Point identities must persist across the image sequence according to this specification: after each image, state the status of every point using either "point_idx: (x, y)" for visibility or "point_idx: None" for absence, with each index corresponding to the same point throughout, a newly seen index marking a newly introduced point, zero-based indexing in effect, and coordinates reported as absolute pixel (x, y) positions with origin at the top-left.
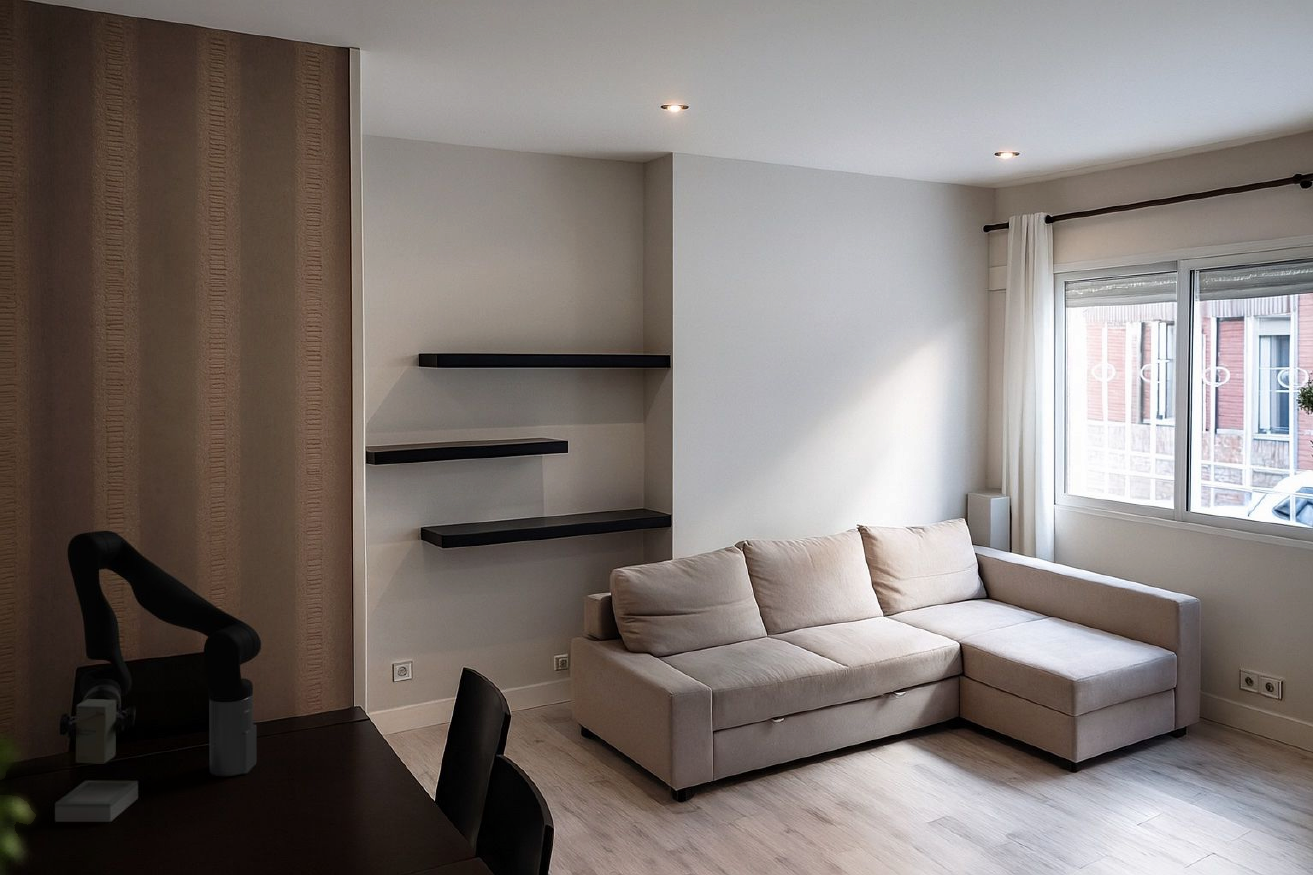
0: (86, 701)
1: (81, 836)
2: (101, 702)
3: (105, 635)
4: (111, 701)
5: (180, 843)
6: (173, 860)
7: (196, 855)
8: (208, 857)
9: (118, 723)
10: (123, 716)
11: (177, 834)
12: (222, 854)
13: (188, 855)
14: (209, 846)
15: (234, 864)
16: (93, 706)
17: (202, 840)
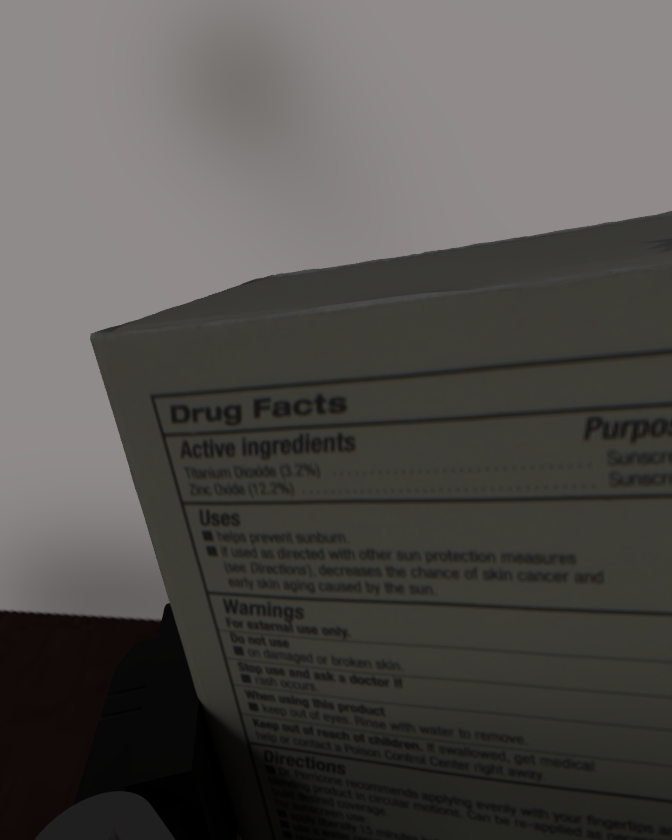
0: (668, 233)
1: None
2: (341, 279)
3: None
4: (181, 309)
5: (85, 716)
6: (129, 636)
7: (67, 652)
8: (43, 642)
9: (171, 609)
10: (40, 837)
11: (75, 778)
12: (4, 651)
13: (86, 654)
14: (14, 690)
15: (3, 613)
16: (413, 256)
17: (15, 726)
